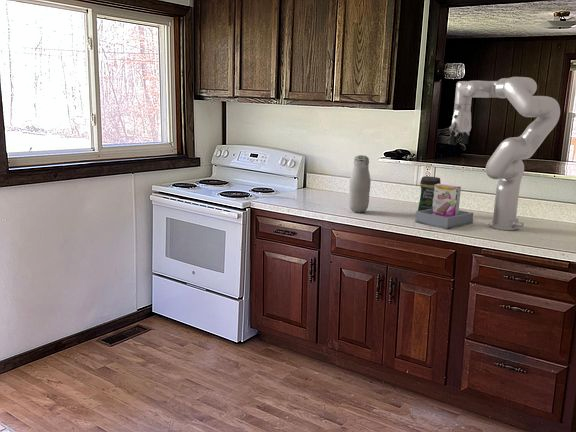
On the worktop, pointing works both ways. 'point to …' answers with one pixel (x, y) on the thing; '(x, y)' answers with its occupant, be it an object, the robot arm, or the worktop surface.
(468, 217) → the tray
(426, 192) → the coffee jar
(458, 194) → the candy bar box
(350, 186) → the grey bottle
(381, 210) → the worktop surface
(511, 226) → the robot arm
